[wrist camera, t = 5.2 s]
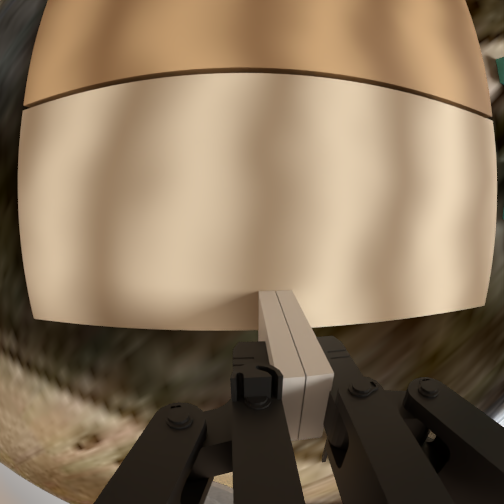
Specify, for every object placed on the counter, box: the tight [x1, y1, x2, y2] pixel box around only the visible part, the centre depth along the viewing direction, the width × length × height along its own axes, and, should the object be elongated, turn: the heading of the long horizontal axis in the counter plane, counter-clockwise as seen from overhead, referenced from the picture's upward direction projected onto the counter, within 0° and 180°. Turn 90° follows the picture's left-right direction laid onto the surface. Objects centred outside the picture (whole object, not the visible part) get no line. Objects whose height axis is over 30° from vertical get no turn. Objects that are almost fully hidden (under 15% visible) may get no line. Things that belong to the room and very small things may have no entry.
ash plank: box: [18, 73, 497, 331], centre depth 14 cm, size 28×12×2 cm, turn 90°
